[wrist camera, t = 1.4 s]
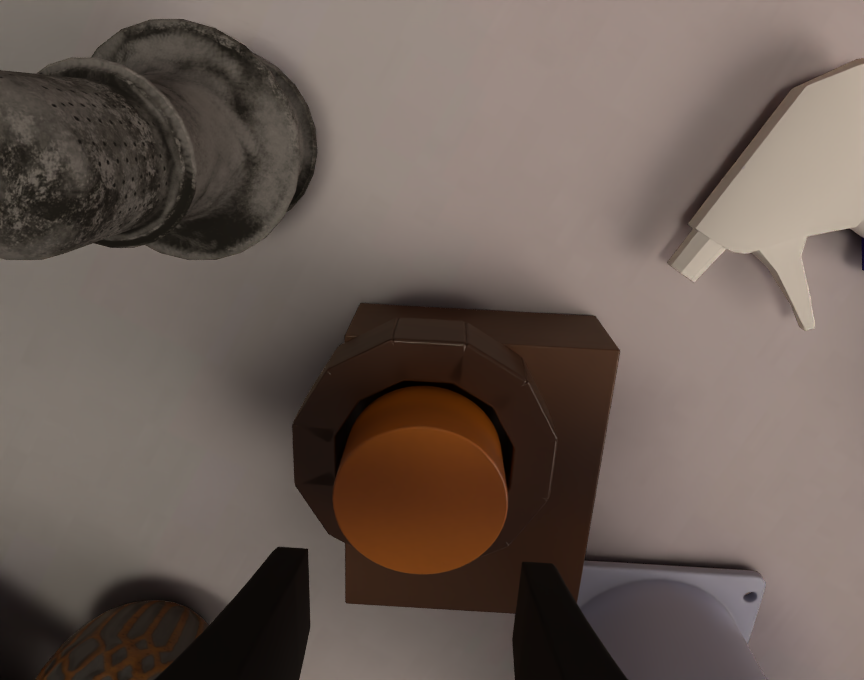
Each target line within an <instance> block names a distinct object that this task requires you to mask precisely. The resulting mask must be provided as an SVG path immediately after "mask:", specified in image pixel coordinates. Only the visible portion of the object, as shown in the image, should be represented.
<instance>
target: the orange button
mask: <svg viewBox="0 0 864 680" xmlns="http://www.w3.org/2000/svg"><path fill="white" fill-rule="evenodd" d="M332 501H333V509H334V514H335V517H336V520H337V522H338V525H339V527H340V529H341V531H342V532H343V534H344V536H345V537H346V538H347V540H348V541H349V542H350V544H351V545H352V546H353V547H354V548H355V549H356V550H357V551H359V552H360V553H361V554H362V555H364V556H365V557H366V558H368V559H370V560H371V561H373V562H375V563H377V564H379V565H381V566H383V567H386V568H389V569H392V570H395V571H399V572H403V573H410V574H436V573H442V572H447V571H450V570H454V569H457V568H459V567H462V566H464V565H466V564H468V563H470V562H472V561H473V560H475V559H476V558H478V557H479V556H480V555H482V554H483V553H484V552H485V551H486V550H487V549H488V548H489V547H490V546H491V545H492V544H493V543H494V541H495V540H496V539H497V537H498V536H499V534H500V532H501V530H502V528H503V526H504V523H505V520H506V517H507V511H508V492H507V485H506V478H505V471H504V465H503V458H502V451H501V445H500V440H499V437H498V433H497V431H496V429H495V427H494V425H493V423H492V422H491V420H490V419H489V417H488V416H487V415H486V414H485V412H484V411H483V410H482V409H481V408H480V407H479V406H477V405H476V404H475V403H474V402H472V401H471V400H469V399H468V398H466V397H464V396H462V395H460V394H459V393H456V392H454V391H451V390H448V389H444V388H440V387H434V386H411V387H405V388H401V389H397V390H394V391H391V392H389V393H386V394H385V395H383V396H381V397H379V398H377V399H376V400H375V401H373V402H372V403H370V404H369V405H368V406H367V407H366V408H365V409H364V410H363V411H362V412H361V414H360V415H359V416H358V417H357V419H356V421H355V423H354V424H353V426H352V429H351V431H350V434H349V437H348V440H347V443H346V446H345V449H344V452H343V456H342V459H341V462H340V465H339V468H338V471H337V474H336V478H335V481H334V486H333V494H332Z"/></svg>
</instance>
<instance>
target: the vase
mask: <svg viewBox="0 0 864 680" xmlns="http://www.w3.org/2000/svg"><path fill="white" fill-rule="evenodd" d="M208 626H209V625H208V624H207V623H206V622H205V621H204V619H203V618H202V617H200V616H199V615H198V614H197V613H195V612H194V611H192V610H191V609H189V608H187V607H185V606H183V605H180V604H177V603H174V602H169V601H161V600H149V601H139V602H132V603H128V604H125V605H122V606H119V607H116V608H113V609H111V610H108V611H107V612H105V613H103V614H101V615H100V616H98V617H96V618H94V619H93V620H91V621H90V622H89V623H87V624H86V625H85V626H83V627H82V628H81V629H79V630H78V631H77V632H76V633H74V634H73V635H72V636H71V637H70V638H69V639H68V640H67V641H66V642H65V643H63V645H62V646H61V647H60V648H59V649H58V650H57V651H56V652H55V654H54V655H53V656H52V657H51V658H50V660H49V661H48V662H47V663H46V665H45V666H44V667H43V668H42V670H41V671H40V673H39V674H38V676H37V677H36V679H35V680H154V679H155V678H156V677H157V676H158V675H159V674H160V673H162V672H163V671H164V670H165V669H166V668H167V667H168V666H169V665H170V664H171V663H172V662H173V661H174V660H175V659H176V658H177V657H178V656H179V655H180V654H181V653H182V652H183V651H184V650H185V649H186V648H187V647H188V646H189V645H190V644H191V643H192V642H193V641H194V640H195V639H196V638H197V637H198V636H199V635H200V634H201V633H202V632H203V631H204V630H205V629H206V628H207V627H208Z"/></svg>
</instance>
